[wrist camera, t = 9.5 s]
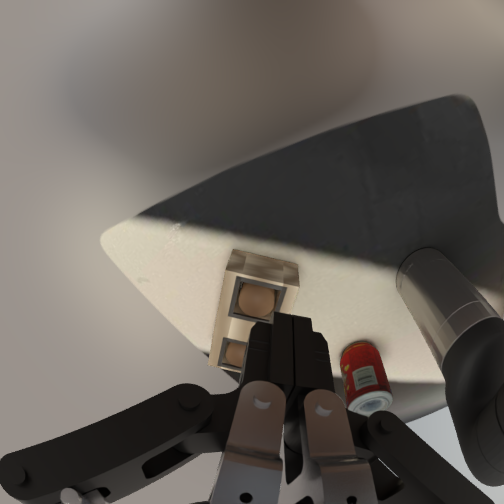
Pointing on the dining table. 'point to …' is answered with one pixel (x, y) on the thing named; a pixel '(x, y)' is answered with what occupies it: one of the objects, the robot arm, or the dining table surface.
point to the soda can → (364, 379)
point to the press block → (229, 312)
